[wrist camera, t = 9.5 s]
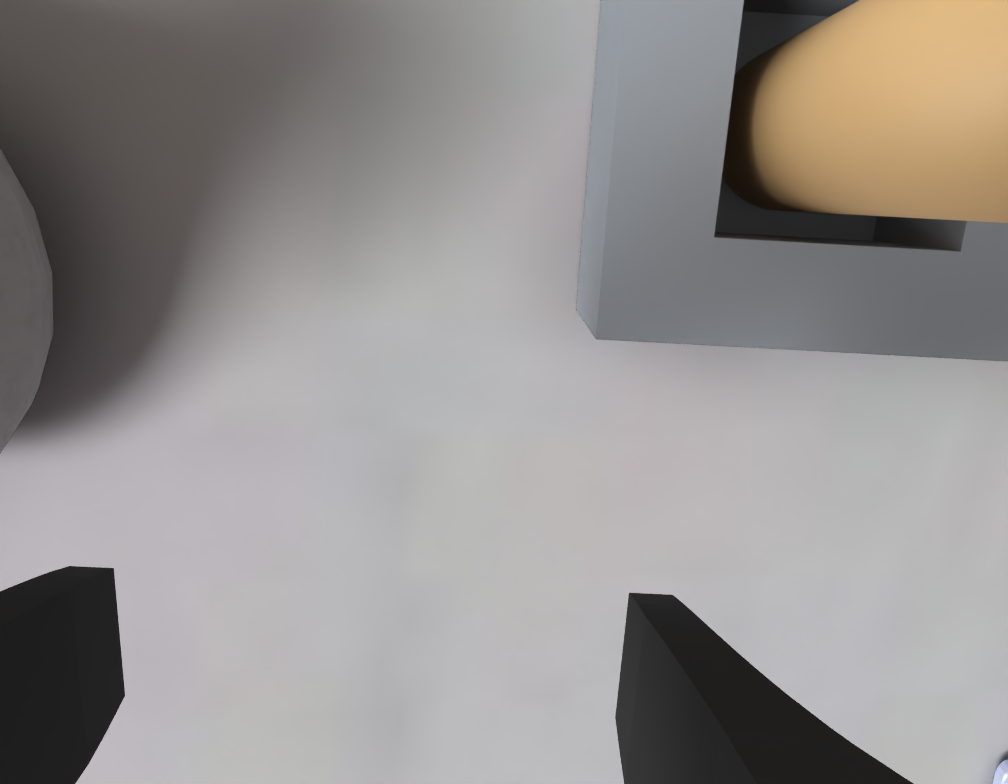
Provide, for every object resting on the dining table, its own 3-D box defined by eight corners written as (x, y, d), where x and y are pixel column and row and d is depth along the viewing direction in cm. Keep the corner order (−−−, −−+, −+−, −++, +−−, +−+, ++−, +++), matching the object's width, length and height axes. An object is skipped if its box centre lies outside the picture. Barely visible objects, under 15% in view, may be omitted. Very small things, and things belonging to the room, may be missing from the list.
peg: (881, 50, 17) (1350, -130, 7) (852, 214, 18) (1238, 236, 8) (722, 40, 17) (995, -153, 7) (701, 205, 17) (922, 217, 8)
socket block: (1011, -71, 16) (1168, -153, 13) (929, 328, 19) (1041, 363, 15) (608, -97, 16) (642, -189, 12) (575, 309, 19) (595, 339, 15)
